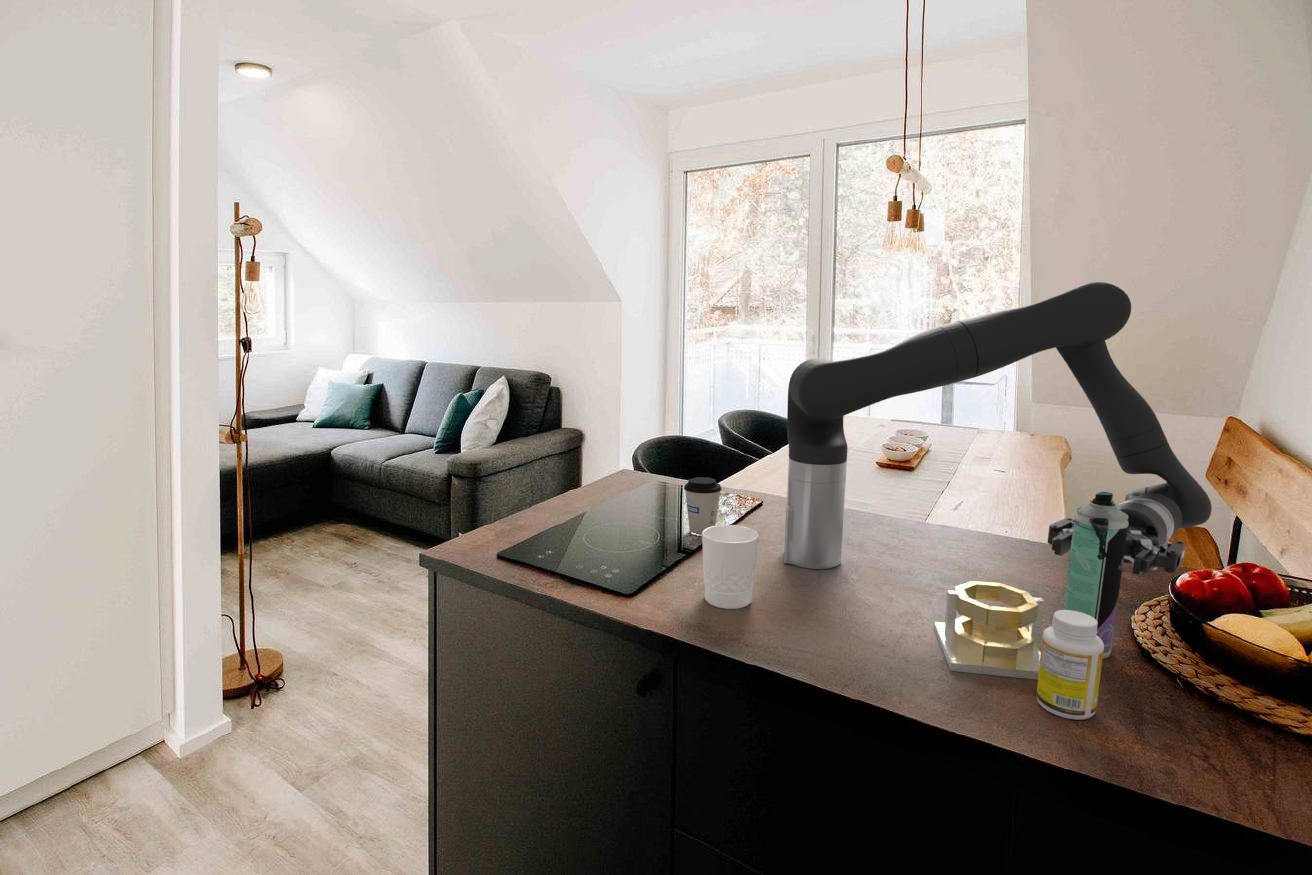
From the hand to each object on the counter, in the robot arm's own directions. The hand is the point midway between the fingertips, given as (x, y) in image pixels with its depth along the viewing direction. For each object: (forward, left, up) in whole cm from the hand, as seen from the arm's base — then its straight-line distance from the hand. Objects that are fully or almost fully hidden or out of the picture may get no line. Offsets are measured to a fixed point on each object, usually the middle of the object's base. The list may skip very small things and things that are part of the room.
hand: (1096, 556), depth 86 cm
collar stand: (-12, -4, -12) cm, 17 cm away
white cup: (-45, +5, -12) cm, 47 cm away
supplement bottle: (-7, -15, -12) cm, 21 cm away
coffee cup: (-53, +34, -12) cm, 64 cm away
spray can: (0, 0, -12) cm, 12 cm away
